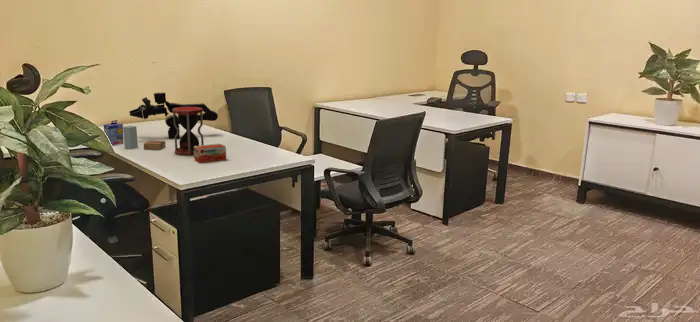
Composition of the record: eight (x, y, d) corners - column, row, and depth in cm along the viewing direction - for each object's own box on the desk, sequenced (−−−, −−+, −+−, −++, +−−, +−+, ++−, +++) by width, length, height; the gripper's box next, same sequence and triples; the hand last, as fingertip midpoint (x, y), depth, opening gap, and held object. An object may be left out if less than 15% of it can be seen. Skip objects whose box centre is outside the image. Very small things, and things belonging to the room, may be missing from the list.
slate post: (131, 146, 321) (130, 125, 318) (137, 147, 319) (136, 126, 316) (124, 148, 317) (123, 126, 314) (130, 149, 315) (129, 127, 311)
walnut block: (150, 146, 323) (150, 140, 322) (165, 147, 322) (165, 140, 321) (144, 150, 314) (143, 143, 313) (159, 150, 313) (158, 144, 312)
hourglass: (174, 156, 300) (171, 111, 294) (175, 149, 315) (172, 106, 309) (204, 155, 304) (202, 110, 298) (204, 148, 319) (202, 106, 313)
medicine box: (221, 157, 302) (220, 143, 300) (226, 160, 295) (226, 145, 293) (194, 160, 293) (193, 145, 292) (199, 163, 287) (198, 148, 285)
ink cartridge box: (110, 146, 320) (108, 121, 317) (104, 145, 323) (102, 120, 319) (124, 143, 329) (122, 119, 325) (118, 142, 331) (116, 118, 328)
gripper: (152, 95, 345) (126, 98, 339) (155, 99, 328) (127, 102, 323) (155, 112, 348) (129, 116, 342) (158, 117, 331) (131, 121, 326)
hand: (129, 113), depth 333 cm, fingers open, 9 cm apart
